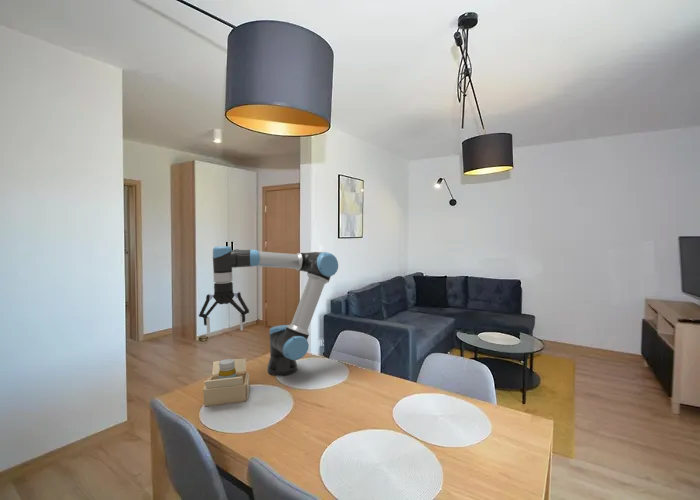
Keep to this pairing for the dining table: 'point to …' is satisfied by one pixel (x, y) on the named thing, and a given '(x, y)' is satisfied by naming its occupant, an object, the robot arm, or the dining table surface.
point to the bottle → (227, 369)
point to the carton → (227, 392)
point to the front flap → (223, 382)
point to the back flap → (239, 365)
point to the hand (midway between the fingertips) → (225, 331)
